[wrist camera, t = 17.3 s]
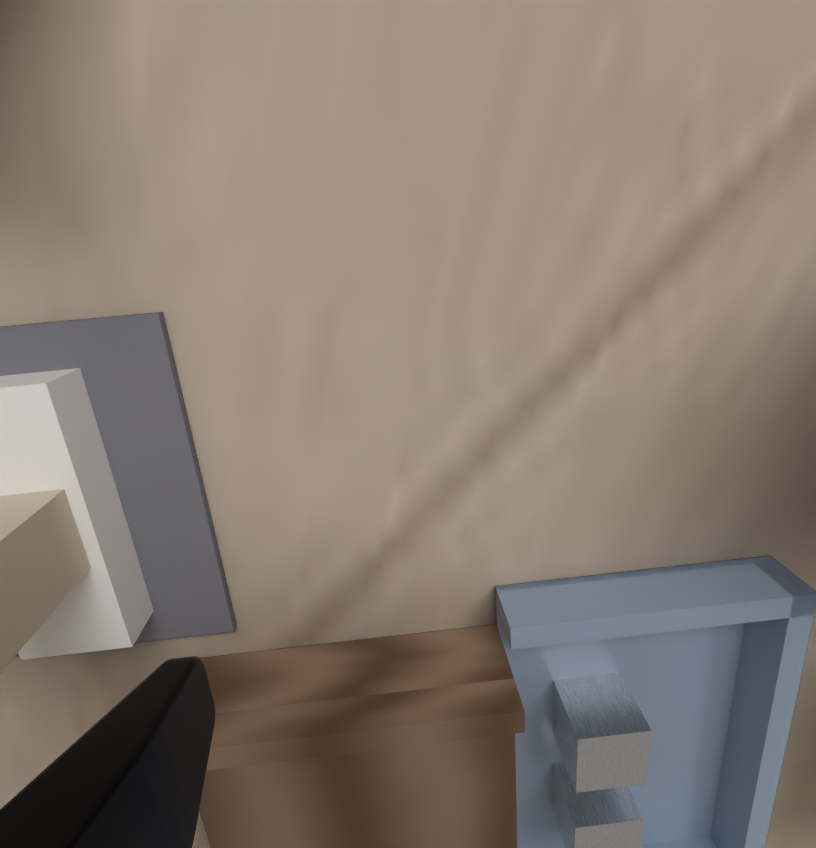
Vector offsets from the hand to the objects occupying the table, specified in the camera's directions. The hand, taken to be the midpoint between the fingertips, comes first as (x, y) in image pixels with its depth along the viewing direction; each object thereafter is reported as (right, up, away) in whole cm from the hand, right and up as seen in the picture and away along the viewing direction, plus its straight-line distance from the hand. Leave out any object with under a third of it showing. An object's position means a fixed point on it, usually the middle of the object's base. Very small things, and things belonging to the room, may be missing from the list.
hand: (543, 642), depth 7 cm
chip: (+5, -11, +16) cm, 20 cm away
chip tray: (+9, -12, +19) cm, 24 cm away
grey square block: (+5, -15, +18) cm, 24 cm away
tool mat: (-14, 0, +13) cm, 19 cm away
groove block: (-4, -13, +18) cm, 23 cm away
